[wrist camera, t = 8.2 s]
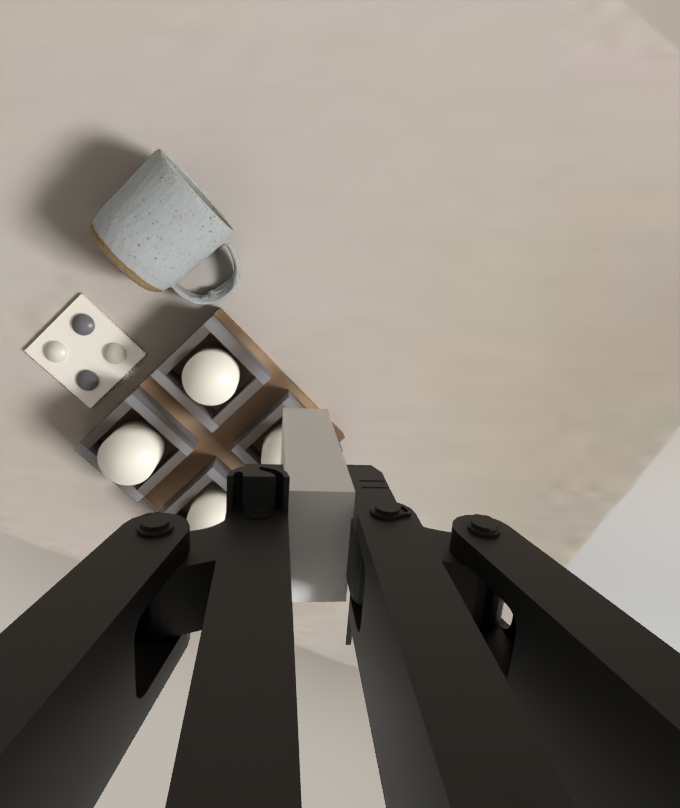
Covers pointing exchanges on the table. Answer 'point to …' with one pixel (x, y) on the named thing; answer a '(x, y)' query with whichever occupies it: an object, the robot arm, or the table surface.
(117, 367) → the card
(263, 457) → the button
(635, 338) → the table surface
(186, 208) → the ceramic mug
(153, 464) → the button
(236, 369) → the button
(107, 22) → the table surface
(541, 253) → the table surface
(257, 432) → the button board
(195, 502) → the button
